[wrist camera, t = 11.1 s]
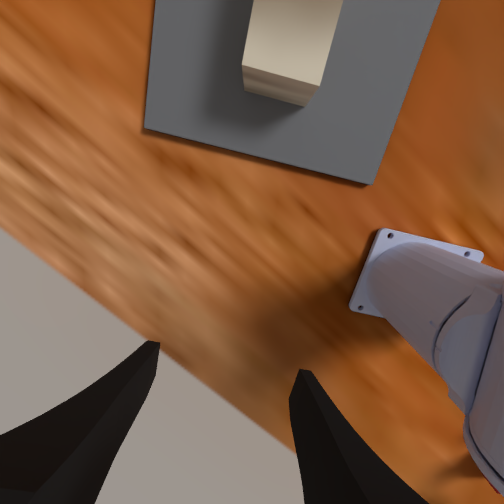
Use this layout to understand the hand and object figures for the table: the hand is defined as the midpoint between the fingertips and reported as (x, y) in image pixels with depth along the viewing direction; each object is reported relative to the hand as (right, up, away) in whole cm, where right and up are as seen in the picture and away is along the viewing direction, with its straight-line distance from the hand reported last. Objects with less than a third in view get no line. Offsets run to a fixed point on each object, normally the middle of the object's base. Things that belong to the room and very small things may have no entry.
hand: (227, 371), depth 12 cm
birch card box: (+4, +21, +4) cm, 21 cm away
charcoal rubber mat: (+4, +21, +4) cm, 22 cm away
